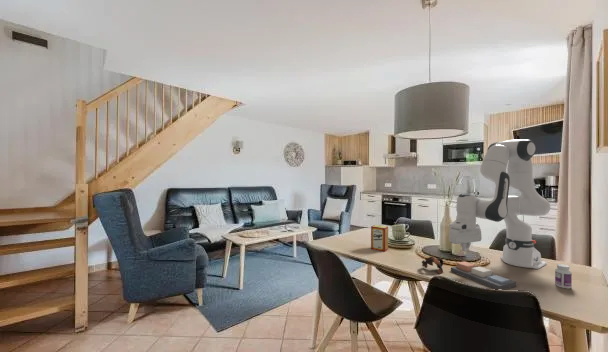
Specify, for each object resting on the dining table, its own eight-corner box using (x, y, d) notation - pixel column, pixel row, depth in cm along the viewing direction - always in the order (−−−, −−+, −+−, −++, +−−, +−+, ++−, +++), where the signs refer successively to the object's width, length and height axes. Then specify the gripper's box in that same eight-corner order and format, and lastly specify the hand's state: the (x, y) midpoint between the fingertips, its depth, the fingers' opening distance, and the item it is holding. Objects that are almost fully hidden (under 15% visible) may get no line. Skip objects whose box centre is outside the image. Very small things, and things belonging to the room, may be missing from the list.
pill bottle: (570, 286, 118) (571, 265, 118) (572, 290, 114) (572, 268, 114) (554, 282, 122) (554, 262, 122) (555, 286, 118) (555, 265, 118)
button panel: (466, 268, 140) (466, 264, 140) (516, 286, 118) (516, 281, 118) (450, 271, 136) (450, 267, 136) (499, 290, 114) (499, 286, 114)
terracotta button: (464, 266, 138) (464, 261, 138) (475, 270, 133) (475, 264, 133) (456, 268, 136) (456, 262, 136) (467, 272, 131) (467, 266, 131)
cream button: (479, 272, 131) (479, 266, 131) (491, 276, 125) (491, 270, 125) (471, 273, 129) (471, 267, 129) (483, 278, 123) (483, 272, 123)
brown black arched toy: (437, 276, 130) (428, 261, 133) (424, 278, 138) (416, 263, 141) (452, 267, 135) (443, 252, 138) (438, 269, 143) (430, 255, 146)
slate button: (496, 281, 123) (496, 275, 123) (509, 286, 118) (509, 279, 118) (488, 283, 121) (488, 276, 121) (501, 288, 116) (501, 281, 116)
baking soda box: (388, 249, 175) (388, 226, 175) (384, 251, 170) (384, 227, 169) (374, 246, 181) (374, 224, 180) (371, 249, 175) (371, 225, 175)
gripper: (473, 222, 141) (473, 247, 141) (446, 224, 133) (446, 250, 133) (485, 224, 135) (484, 250, 135) (458, 226, 127) (457, 254, 127)
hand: (465, 250), depth 134 cm, fingers closed
